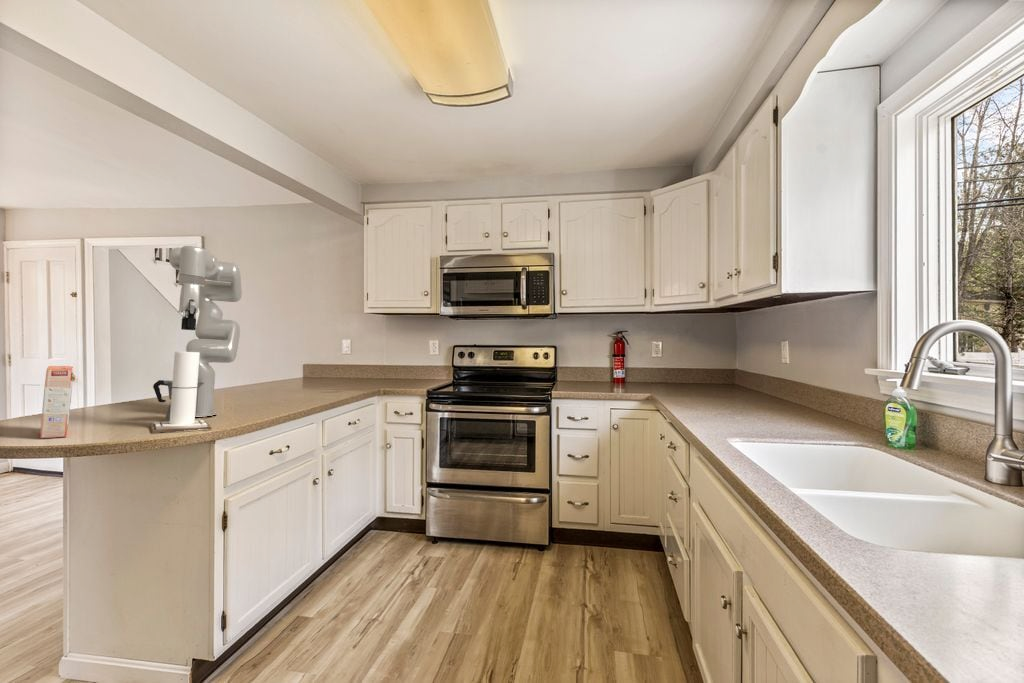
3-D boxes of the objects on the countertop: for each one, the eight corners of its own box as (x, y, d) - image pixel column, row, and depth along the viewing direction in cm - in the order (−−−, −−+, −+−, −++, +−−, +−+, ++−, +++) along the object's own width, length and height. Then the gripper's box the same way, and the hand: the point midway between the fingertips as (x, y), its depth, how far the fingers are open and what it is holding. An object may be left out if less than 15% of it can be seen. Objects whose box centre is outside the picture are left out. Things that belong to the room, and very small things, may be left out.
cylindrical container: (169, 425, 152) (174, 351, 153) (169, 421, 158) (175, 351, 159) (194, 424, 156) (199, 352, 157) (194, 420, 162) (199, 352, 163)
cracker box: (68, 437, 134) (73, 368, 135) (39, 439, 130) (44, 367, 131) (68, 430, 145) (73, 365, 145) (41, 431, 140) (47, 365, 141)
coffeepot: (200, 418, 177) (203, 373, 178) (202, 422, 170) (205, 375, 170) (150, 420, 167) (153, 372, 168) (150, 424, 160) (154, 374, 161)
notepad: (150, 426, 157) (150, 421, 157) (205, 423, 167) (205, 418, 167) (152, 433, 146) (152, 427, 146) (210, 430, 157) (211, 424, 157)
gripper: (176, 282, 162) (172, 329, 162) (180, 278, 149) (177, 329, 149) (201, 284, 167) (198, 330, 167) (207, 281, 154) (204, 330, 154)
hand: (188, 329), depth 158 cm, fingers open, 9 cm apart
